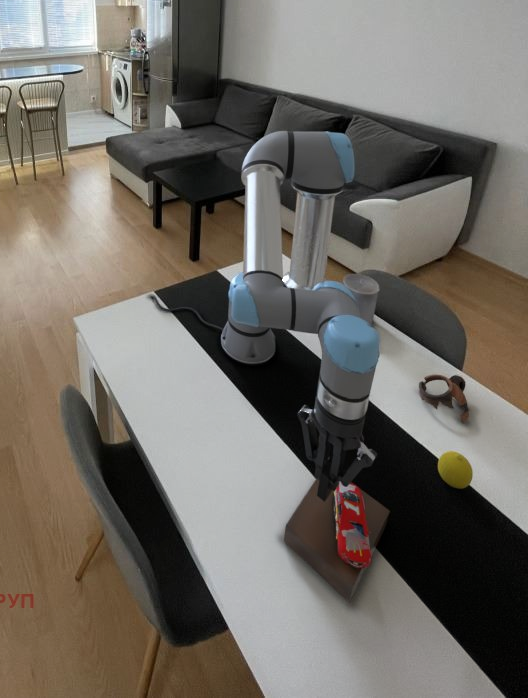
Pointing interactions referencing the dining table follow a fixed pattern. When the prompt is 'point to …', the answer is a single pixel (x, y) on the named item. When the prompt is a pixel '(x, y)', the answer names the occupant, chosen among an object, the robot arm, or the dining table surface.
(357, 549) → the race car
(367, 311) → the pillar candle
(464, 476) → the lemon
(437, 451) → the dining table surface
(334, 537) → the walnut step
